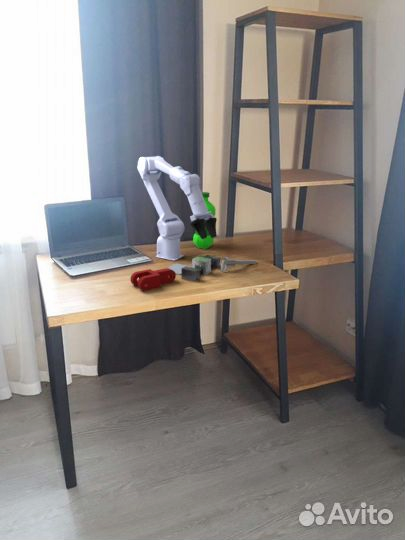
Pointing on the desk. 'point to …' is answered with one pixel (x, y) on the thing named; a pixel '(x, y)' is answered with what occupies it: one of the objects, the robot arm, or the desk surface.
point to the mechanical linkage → (152, 278)
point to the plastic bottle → (207, 241)
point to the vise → (199, 269)
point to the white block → (202, 264)
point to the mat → (177, 268)
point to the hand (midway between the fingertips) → (209, 237)
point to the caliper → (234, 263)
